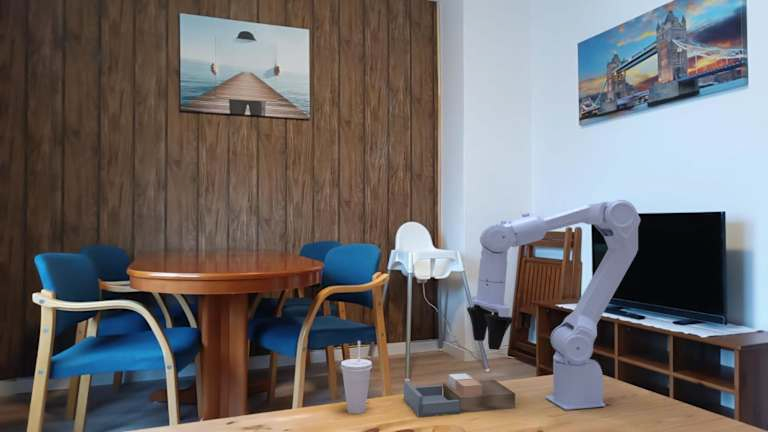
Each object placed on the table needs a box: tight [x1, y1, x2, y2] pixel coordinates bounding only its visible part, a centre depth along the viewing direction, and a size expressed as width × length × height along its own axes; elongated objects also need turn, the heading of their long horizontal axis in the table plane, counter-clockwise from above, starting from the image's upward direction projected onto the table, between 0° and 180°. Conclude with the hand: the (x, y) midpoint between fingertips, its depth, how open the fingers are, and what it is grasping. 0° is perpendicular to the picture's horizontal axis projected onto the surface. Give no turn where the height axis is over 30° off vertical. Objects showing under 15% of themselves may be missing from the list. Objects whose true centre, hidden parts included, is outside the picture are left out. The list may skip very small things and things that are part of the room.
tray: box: [403, 379, 461, 418], centre depth 109 cm, size 8×11×4 cm
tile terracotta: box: [456, 378, 482, 396], centre depth 108 cm, size 4×4×2 cm
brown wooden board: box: [442, 379, 516, 414], centre depth 111 cm, size 12×10×3 cm
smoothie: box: [340, 340, 373, 415], centre depth 106 cm, size 6×6×14 cm
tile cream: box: [448, 372, 474, 389], centre depth 113 cm, size 4×4×2 cm
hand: (486, 344), depth 112 cm, fingers open, 7 cm apart
